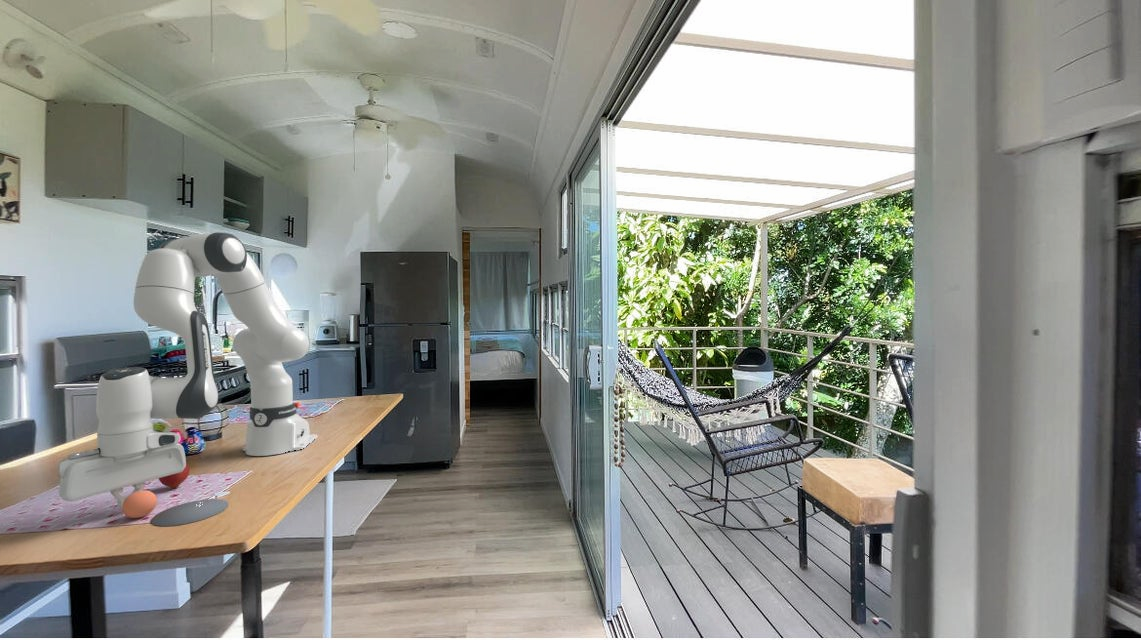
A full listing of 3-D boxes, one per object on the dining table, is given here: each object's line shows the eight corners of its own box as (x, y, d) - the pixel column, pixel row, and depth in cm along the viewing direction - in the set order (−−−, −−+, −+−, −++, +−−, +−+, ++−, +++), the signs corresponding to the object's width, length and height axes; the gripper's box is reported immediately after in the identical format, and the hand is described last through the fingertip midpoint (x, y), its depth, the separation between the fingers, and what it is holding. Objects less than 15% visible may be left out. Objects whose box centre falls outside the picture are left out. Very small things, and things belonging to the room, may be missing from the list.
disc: (186, 500, 108) (186, 499, 108) (242, 499, 108) (242, 498, 108) (133, 526, 95) (133, 525, 95) (197, 526, 95) (197, 525, 95)
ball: (153, 482, 100) (164, 504, 100) (146, 490, 103) (157, 512, 102) (121, 495, 96) (132, 518, 95) (114, 503, 98) (125, 526, 98)
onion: (171, 493, 112) (170, 460, 111) (152, 491, 113) (151, 459, 113) (195, 484, 117) (194, 453, 117) (177, 482, 118) (176, 451, 118)
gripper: (64, 459, 90) (66, 529, 90) (188, 433, 108) (190, 491, 109) (51, 454, 93) (53, 522, 93) (175, 430, 111) (176, 487, 111)
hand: (128, 505), depth 101 cm, fingers closed
